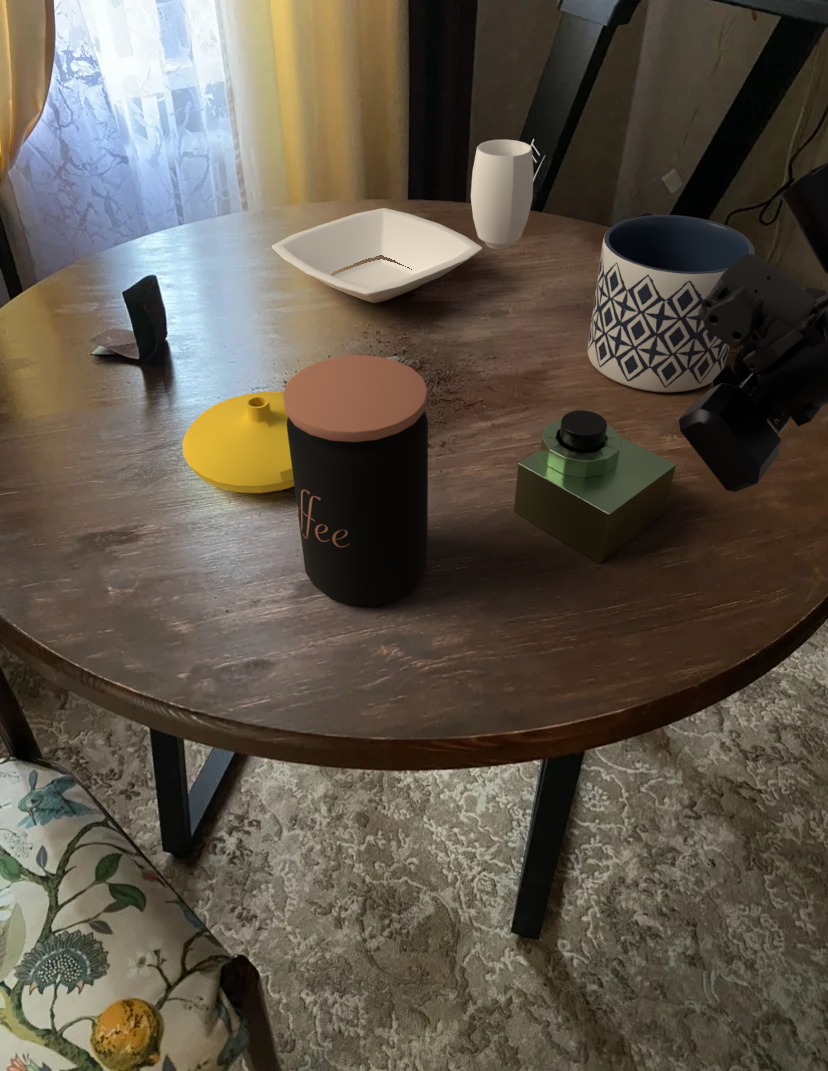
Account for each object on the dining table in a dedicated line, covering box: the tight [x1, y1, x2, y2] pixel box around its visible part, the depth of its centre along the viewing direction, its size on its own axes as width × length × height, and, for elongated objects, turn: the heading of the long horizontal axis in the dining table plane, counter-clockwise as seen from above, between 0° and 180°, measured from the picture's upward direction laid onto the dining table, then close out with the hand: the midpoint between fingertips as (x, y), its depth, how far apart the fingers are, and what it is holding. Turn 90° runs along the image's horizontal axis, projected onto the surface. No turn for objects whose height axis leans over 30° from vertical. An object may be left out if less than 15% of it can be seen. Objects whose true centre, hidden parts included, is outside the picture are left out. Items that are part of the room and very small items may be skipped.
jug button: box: [559, 409, 608, 453], centre depth 74 cm, size 4×4×2 cm
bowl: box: [271, 207, 483, 304], centre depth 114 cm, size 22×23×6 cm
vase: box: [181, 391, 294, 494], centre depth 83 cm, size 16×16×7 cm
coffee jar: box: [282, 354, 429, 608], centre depth 67 cm, size 11×11×18 cm
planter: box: [587, 214, 755, 393], centre depth 95 cm, size 16×16×14 cm
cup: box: [470, 139, 535, 251], centre depth 102 cm, size 7×7×21 cm
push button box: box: [513, 417, 677, 565], centre depth 76 cm, size 10×10×8 cm
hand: (686, 427), depth 66 cm, fingers closed
